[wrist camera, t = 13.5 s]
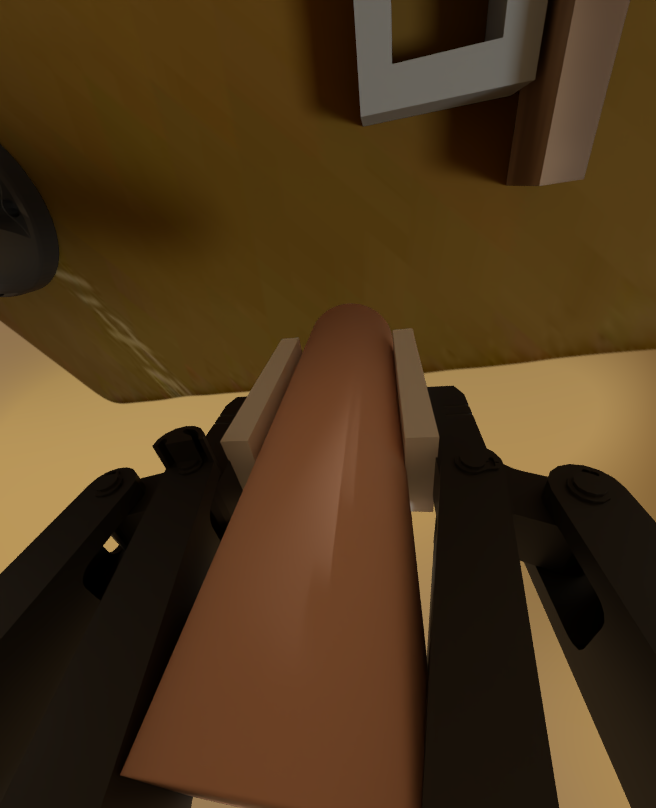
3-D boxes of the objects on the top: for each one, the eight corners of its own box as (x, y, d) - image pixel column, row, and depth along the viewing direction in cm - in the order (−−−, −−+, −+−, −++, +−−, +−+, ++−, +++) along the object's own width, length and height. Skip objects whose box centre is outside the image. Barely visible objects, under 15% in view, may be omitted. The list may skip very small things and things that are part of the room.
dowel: (294, 344, 16) (80, 771, 4) (349, 284, 14) (222, 783, 2) (351, 392, 17) (303, 822, 6) (410, 344, 15) (521, 861, 4)
